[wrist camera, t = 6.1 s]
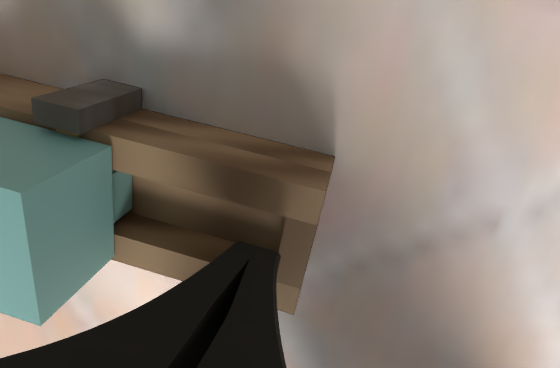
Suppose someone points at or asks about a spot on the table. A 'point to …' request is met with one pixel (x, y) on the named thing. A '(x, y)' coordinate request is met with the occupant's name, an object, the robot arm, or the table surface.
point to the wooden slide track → (188, 180)
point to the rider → (54, 216)
